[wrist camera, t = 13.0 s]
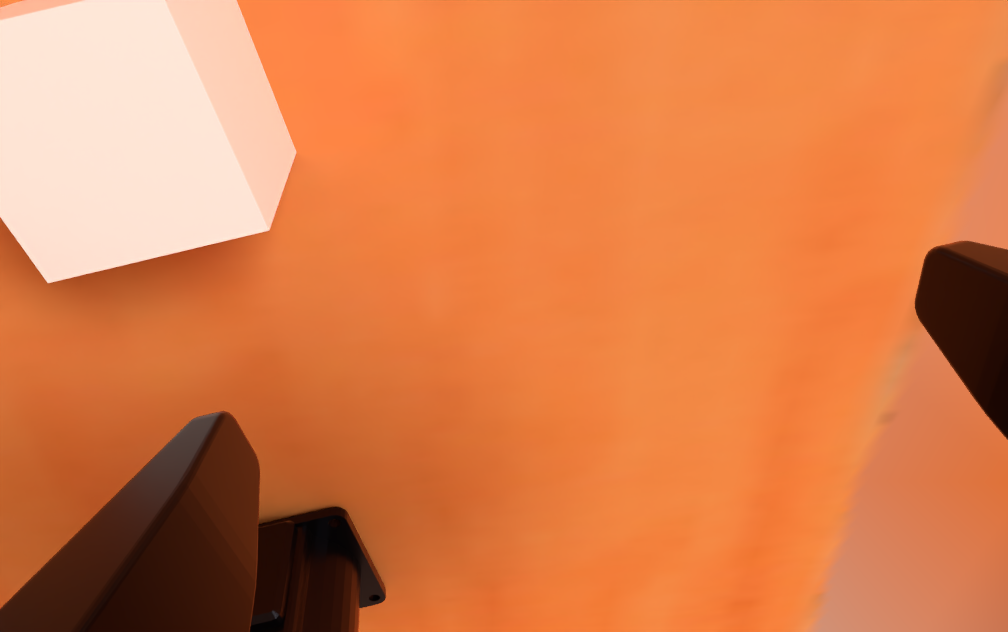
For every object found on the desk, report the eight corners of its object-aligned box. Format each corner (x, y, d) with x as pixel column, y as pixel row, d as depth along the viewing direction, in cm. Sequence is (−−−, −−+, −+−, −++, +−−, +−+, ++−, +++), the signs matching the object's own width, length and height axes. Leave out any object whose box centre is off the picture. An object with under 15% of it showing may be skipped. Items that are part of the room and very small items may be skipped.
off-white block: (296, 151, 18) (269, 230, 14) (124, 192, 18) (48, 283, 14) (219, -46, 16) (157, -17, 11) (14, 2, 15) (-121, 48, 11)
